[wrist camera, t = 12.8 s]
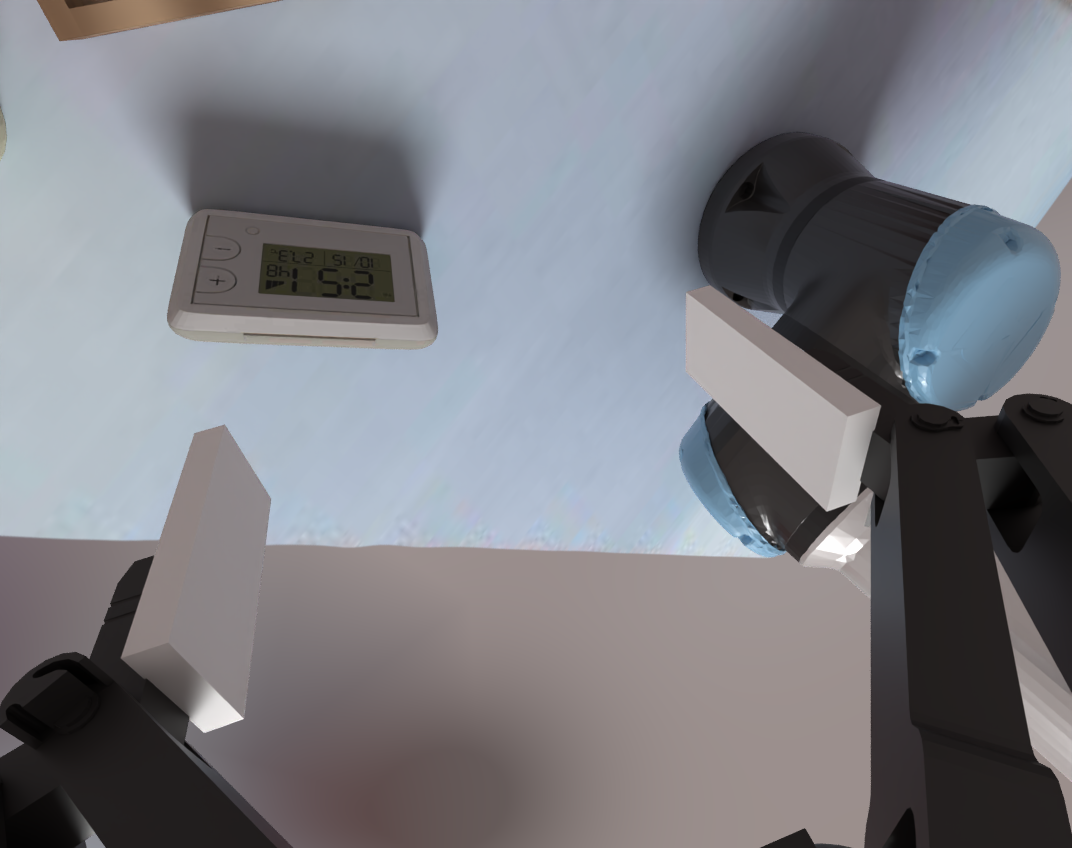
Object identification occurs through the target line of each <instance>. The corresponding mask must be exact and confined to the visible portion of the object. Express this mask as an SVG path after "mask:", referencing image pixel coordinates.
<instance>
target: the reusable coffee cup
mask: <svg viewBox="0 0 1072 848" xmlns="http://www.w3.org/2000/svg"><path fill="white" fill-rule="evenodd" d="M6 140H7V135H6V125H5V120H4V117H3V114H2V110H1V107H0V161H1V159H2V156H3V154H4V152H5V146H6Z"/></svg>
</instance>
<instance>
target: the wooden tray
mask: <svg viewBox="0 0 1072 848" xmlns="http://www.w3.org/2000/svg"><path fill="white" fill-rule="evenodd" d="M37 1H38V3H39V5H40V7H41V9H42V10H43V12H44V14H45V16H46V18H47V19H48V21H49V23H50V25H51V27H52V28H53V30H54V32H55V34H56V35H57V37H58V39H59V41H67V40H79V39H86V38H91V37H96V36H101V35H106V34H112V33H117V32H122V31H127V30H132V29H137V28H143V27H148V26H153V25H158V24H163V23H168V22H173V21H179V20H184V19H189V18H194V17H199V16H204V15H209V14H215V13H220V12H225V11H230V10H235V9H240V8H245V7H251V6H256V5H261V4H266V3H271V2H276V1H281V0H37Z"/></svg>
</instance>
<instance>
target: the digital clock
mask: <svg viewBox="0 0 1072 848" xmlns="http://www.w3.org/2000/svg"><path fill="white" fill-rule="evenodd" d="M167 321H168V324H169V326H170V328H171V329H172V330H173V331H174V332H175V333H176V334H178V335H180V336H182V337H184V338H186V339H190V340H194V341H203V342H222V343H243V344H269V345H295V346H321V347H347V348H373V349H410V350H411V349H422V348H425V347H427V346H430V345H432V343H433V342H434V341H435V340H436V337H437V334H438V324H437V316H436V309H435V302H434V295H433V289H432V282H431V275H430V268H429V262H428V255H427V249H426V246H425V243H424V242H423V240H422V239H421V238H420V237H419V236H418V235H417V234H416V233H415V232H413V231H409V230H403V229H395V228H387V227H378V226H369V225H359V224H350V223H341V222H331V221H322V220H313V219H303V218H294V217H285V216H275V215H266V214H257V213H247V212H238V211H227V210H216V209H202V210H200V211H198V212H197V213H195V214H194V215H193V216H192V217H191V218H190V219H189V221H188V223H187V226H186V229H185V234H184V238H183V243H182V247H181V252H180V256H179V261H178V265H177V270H176V274H175V279H174V283H173V288H172V292H171V297H170V301H169V307H168V313H167Z"/></svg>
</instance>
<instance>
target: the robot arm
mask: <svg viewBox="0 0 1072 848" xmlns="http://www.w3.org/2000/svg"><path fill="white" fill-rule="evenodd" d="M698 254H699V261H700V265H701V269H702V272H703V274H704V276H705V278H706V280H707V281H708V283H709V284H710V285H711V286H710V285H709V286H706V287H702V288H699V289H695V290H692V291H688V292H686V372H687V373H688V374H689V375H690V376H691V377H692V378H693V379H694V380H695V381H696V382H697V383H698V384H699V385H700V386H701V387H702V388H703V389H704V390H705V391H706V392H707V393H708V394H709V395H710V396H711V397H712V398H713V399H712V400H711V401H709V402H708V403H707V404H705V405H704V406H703V408H702V410H701V413H700V415H699V417H698V418H697V420H696V421H695V422H694V424H693V425H692V426H691V428H690V429H689V430H688V432H687V433H686V434H685V436H684V437H683V439H682V441H681V444H680V448H679V455H680V456H679V458H680V462H681V466H682V470H683V473H684V475H685V477H686V479H687V481H688V483H689V485H690V487H691V488H692V490H693V491H694V493H695V494H696V496H697V497H698V499H699V500H700V501H701V503H702V504H703V505H704V507H705V508H706V509H707V510H708V512H709V513H710V514H711V515H712V516H713V517H714V518H715V519H716V521H717V522H718V523H719V524H720V525H721V526H722V527H723V528H724V529H725V530H726V531H727V532H728V533H729V534H731V535H732V536H733V537H738V538H739V539H740V540H741V542H742V543H743V544H744V545H745V546H746V547H747V548H749V549H750V550H752V551H753V552H755V553H757V554H759V555H762V556H765V557H775V556H777V555H782V554H784V553H785V552H786V551H787V552H788V553H789V554H790V555H791V556H793V557H794V558H795V559H796V560H797V561H798V562H799V563H800V564H801V565H802V566H804V567H821V568H831V569H834V570H838V571H840V572H841V573H842V574H843V575H844V576H845V577H846V578H848V579H849V580H850V581H851V582H852V583H853V584H854V585H855V586H856V587H857V588H859V589H860V590H861V591H862V592H863V593H864V594H865V595H866V596H867V597H869V598H870V599H871V798H870V807H869V813H868V818H867V824H866V833H865V847H864V848H1072V833H1071V828H1070V823H1069V819H1068V814H1067V810H1066V805H1065V800H1064V797H1063V794H1062V791H1061V788H1060V784H1059V781H1058V779H1057V778H1056V776H1055V774H1054V773H1053V772H1052V770H1051V769H1050V768H1048V767H1046V766H1045V765H1043V764H1041V763H1039V762H1038V761H1037V759H1036V758H1035V756H1034V753H1033V750H1032V746H1033V747H1034V748H1035V749H1036V750H1037V751H1038V752H1039V753H1040V754H1041V755H1042V756H1044V757H1045V758H1046V759H1047V760H1048V761H1049V762H1050V763H1051V764H1052V765H1054V766H1055V767H1056V768H1057V769H1058V770H1059V771H1060V772H1061V773H1062V774H1063V775H1065V776H1066V777H1067V778H1068V779H1069V780H1070V781H1071V782H1072V404H1070V403H1068V402H1065V401H1063V400H1061V399H1058V398H1055V397H1052V396H1048V395H1042V394H1021V395H1014V396H1012V397H1010V398H1008V399H1006V401H1005V403H1004V405H1003V407H1002V409H1001V411H1000V414H999V415H998V416H986V417H972V418H964V417H963V416H961V415H960V414H959V413H957V412H956V411H961V410H965V409H968V408H970V407H973V406H974V405H975V403H976V402H977V400H981V401H982V400H985V399H988V398H989V397H991V396H992V395H993V394H995V393H996V392H997V391H998V390H1000V389H1001V388H1002V387H1003V386H1004V385H1005V384H1007V383H1008V382H1009V381H1010V380H1011V379H1012V378H1013V377H1014V376H1015V374H1016V373H1017V372H1018V371H1019V370H1020V369H1021V367H1022V366H1023V365H1024V364H1025V362H1026V361H1027V360H1028V359H1029V357H1030V356H1031V355H1032V353H1033V352H1034V350H1035V349H1036V347H1037V345H1038V344H1039V342H1040V340H1041V338H1042V337H1043V335H1044V333H1045V331H1046V329H1047V327H1048V325H1049V323H1050V320H1051V318H1052V315H1053V313H1054V307H1055V303H1056V300H1057V297H1058V294H1059V288H1060V278H1061V277H1060V276H1061V273H1060V263H1059V259H1058V255H1057V253H1056V250H1055V248H1054V246H1053V245H1052V243H1051V242H1050V240H1049V239H1048V238H1047V237H1046V236H1045V235H1044V234H1043V233H1042V232H1040V231H1039V230H1037V229H1036V228H1034V227H1032V226H1029V225H1027V224H1024V223H1021V222H1018V221H1016V220H1013V219H1010V218H1007V217H1004V216H1001V215H1000V214H999V213H998V212H997V211H995V210H994V209H991V208H989V207H987V206H982V205H975V204H974V205H970V204H967V203H963V202H959V201H956V200H952V199H949V198H945V197H942V196H938V195H935V194H931V193H927V192H924V191H920V190H917V189H913V188H910V187H906V186H902V185H899V184H895V183H892V182H887V181H884V180H881V179H878V178H875V177H874V176H873V175H872V174H871V173H870V172H869V171H868V170H867V169H866V168H865V167H864V166H862V165H861V164H860V163H859V162H858V161H857V160H856V159H855V158H854V157H853V156H852V155H851V153H850V152H849V151H848V150H847V149H846V148H845V147H843V146H842V145H840V144H839V143H837V142H835V141H833V140H831V139H828V138H825V137H821V136H817V135H813V134H808V133H800V132H796V133H786V134H782V135H778V136H775V137H773V138H770V139H768V140H766V141H764V142H762V143H760V144H758V145H757V146H755V147H754V148H752V149H751V150H749V151H748V152H747V153H745V154H744V155H743V156H742V157H741V158H740V159H739V160H737V161H736V162H735V163H734V164H733V166H732V167H731V168H730V169H729V170H728V171H727V172H726V174H725V175H724V176H723V178H722V179H721V180H720V182H719V183H718V185H717V186H716V188H715V190H714V192H713V193H712V195H711V197H710V199H709V201H708V204H707V206H706V209H705V211H704V214H703V217H702V221H701V225H700V230H699V238H698ZM742 307H743V308H746V309H751V310H757V311H764V312H771V313H778V314H783V315H782V317H781V318H780V319H779V320H778V321H777V323H776V324H775V325H774V326H773V327H772V328H770V327H769V326H767V325H766V324H764V323H763V322H761V321H760V320H759V319H757V318H756V317H754V316H753V315H752V314H750V313H749V312H747V311H746V310H744V309H743V308H742ZM791 342H792V343H791ZM798 347H799V348H798ZM801 349H802V350H801ZM270 504H271V498H270V496H269V495H268V493H267V492H266V490H265V488H264V487H263V485H262V484H261V482H260V480H259V479H258V477H257V475H256V474H255V472H254V471H253V469H252V467H251V466H250V464H249V463H248V461H247V459H246V458H245V456H244V455H243V453H242V451H241V450H240V448H239V447H238V445H237V443H236V442H235V440H234V439H233V437H232V435H231V434H230V432H229V431H228V429H227V427H226V426H225V425H222V426H218V427H215V428H211V429H208V430H204V431H201V432H197V433H194V437H193V440H192V443H191V446H190V449H189V452H188V455H187V458H186V461H185V464H184V467H183V470H182V473H181V476H180V479H179V482H178V485H177V488H176V491H175V494H174V498H173V501H172V504H171V507H170V510H169V513H168V516H167V519H166V522H165V525H164V528H163V531H162V534H161V537H160V540H159V543H158V546H157V550H156V552H155V555H154V556H151V557H148V558H145V559H141V560H138V561H135V562H134V563H133V565H132V566H131V567H130V568H129V570H128V571H127V572H126V573H125V575H124V576H123V577H122V579H121V580H120V581H119V583H118V584H117V587H116V590H115V592H114V595H113V598H112V601H111V603H110V604H111V607H110V608H108V611H107V614H106V616H105V619H104V622H105V624H104V625H102V627H101V630H100V632H99V635H98V638H97V640H96V643H95V646H94V648H93V651H92V654H91V656H90V659H88V658H87V657H86V656H84V655H82V654H79V653H77V652H72V653H63V654H60V655H58V656H55V657H53V658H50V659H48V660H45V661H44V662H43V663H41V664H39V665H38V666H36V667H35V668H33V669H32V670H30V671H29V672H28V673H27V674H25V676H23V677H22V678H21V679H20V680H19V681H18V682H17V683H16V684H15V685H14V686H13V687H12V688H11V690H10V691H9V693H8V694H7V695H6V697H5V698H4V700H3V701H2V703H1V706H0V728H2V729H3V730H5V731H6V732H8V733H9V734H11V735H13V736H14V737H16V738H17V739H19V740H21V741H22V742H24V744H22V745H21V746H19V747H17V748H16V749H14V750H12V751H11V752H9V753H7V754H6V755H4V756H2V757H1V758H0V848H86V843H85V840H86V839H88V838H89V837H91V836H92V835H94V834H95V833H96V835H97V836H98V837H99V839H100V840H101V842H102V843H103V844H104V846H105V847H106V848H293V847H292V846H291V845H290V844H289V843H288V842H287V841H286V840H285V839H284V838H283V837H282V836H281V835H280V834H279V833H278V832H277V831H276V830H275V829H274V828H273V827H272V826H271V825H270V824H269V823H268V822H267V821H266V820H265V819H264V818H263V817H262V816H261V815H260V814H259V813H258V812H257V811H256V810H255V809H254V808H253V807H252V806H251V805H250V804H249V803H248V802H247V801H246V800H245V799H244V798H243V797H242V796H241V795H240V794H239V793H238V792H237V791H236V790H235V789H234V788H233V787H232V786H231V785H230V784H229V783H228V782H227V781H226V780H225V779H224V778H223V777H222V776H221V775H220V774H219V773H218V772H217V771H216V770H215V769H214V768H213V767H212V766H211V765H210V764H209V763H208V762H207V761H206V760H205V759H204V758H203V757H202V755H200V754H199V753H198V752H197V750H196V749H195V748H194V747H192V746H191V745H190V744H189V743H188V742H187V741H185V737H186V732H187V727H188V722H189V720H190V721H192V722H193V723H194V724H195V725H196V726H197V727H199V729H201V730H202V731H203V732H204V733H205V732H208V731H211V730H213V729H217V728H220V727H222V726H225V725H228V724H231V723H234V722H236V721H239V720H242V719H244V714H245V706H246V698H247V690H248V682H249V674H250V665H251V657H252V649H253V641H254V633H255V625H256V617H257V609H258V600H259V593H260V585H261V577H262V568H263V560H264V552H265V544H266V536H267V528H268V520H269V512H270ZM761 848H850V847H846V846H841V845H833V844H814V843H813V841H812V839H811V838H810V836H809V834H808V832H807V831H806V829H802V830H800V831H798V832H795V833H793V834H791V835H788V836H786V837H784V838H781V839H779V840H777V841H775V842H772V843H770V844H768V845H765V846H763V847H761Z"/></svg>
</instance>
